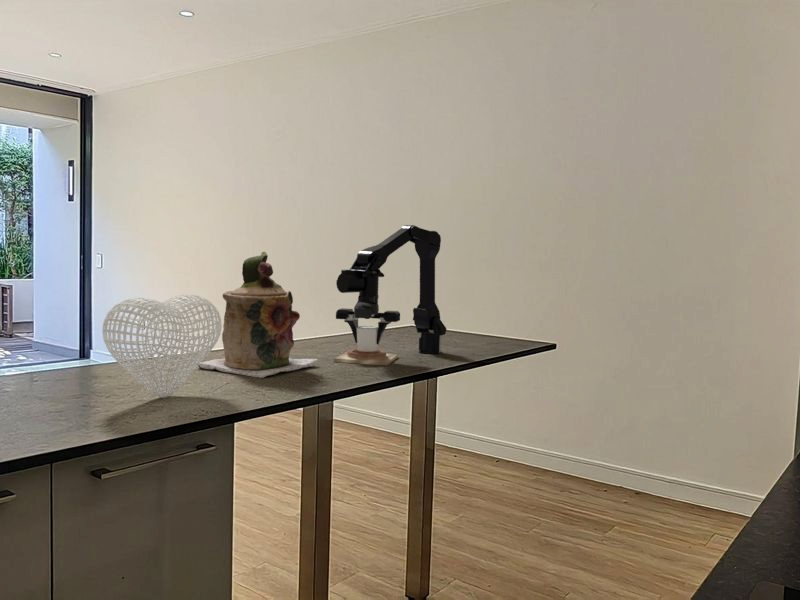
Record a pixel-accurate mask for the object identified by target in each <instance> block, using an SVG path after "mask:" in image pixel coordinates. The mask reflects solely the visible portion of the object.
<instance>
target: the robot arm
mask: <svg viewBox="0 0 800 600" xmlns="http://www.w3.org/2000/svg"><path fill="white" fill-rule="evenodd" d="M408 242H410V243H413V244H414V250H415V252H416V254H417V256H418V257H419V258H418V259H419V303H418V305H417V307H413V309H412V313H413V318H412V321H414V325H415V328H416V332H417V333H418V334H420V336H419V338H418V352H419V354H433V355H435V354H436V355H439V354H440V353H441V352H442V350H441V343H442V342H441V341H442V336H444V335H445V336H446V332H447V327H446V326H445V324H444V323H443V322H442V320H441V314H440V310H439V308H438V306H437V303H436V258H437V256H438V254H439V252H440V250H441V242H442V237H441V234H439V233H438V231H436V230H428V229H424V228H421V227H420V226H419V227H418V226H416V225H415V224H414V225H413V224H409V225H408V224H406V225H405V224H404V225H402V226H401V227H400V229H398V230H397V231H395V232H394V233H393V234H391V235H390V236H388V237H387V238H385V239H384V240H382V241H381V242H380V243H378V244H376V245H373V246H372V245H371V246H369V247H366V248H364V249H362V250H360V251H359V252H358V253H357V255H356V258H355V260H354V262H353V264H351V267H350V268H349V269H341V272H340V274H339V275H338V277H337V279H336V288H337V290H338V292H340V293H342V294H346V293H349V294H352V293H353V294H354V293H358V299H357V302H356V303H355V306H354V307H353V308H344V307H342V308H339V309H337V310H336V312H335V319H337V320H343V321H344V323H347V324H348V325H349V328H350V329H351V332H352V336H353V339H354V341H355V344H357V329H356V327H359V319H365V320H369V319H377V320H378V319H379V321H378V322H377V327H378V335H377V345H379V344H380V341H381V340H382V337H383V334H384V333H385V330H386V328H387V326H388V325H389V324H392V323H397V322H399V321H400V320H401V312H399V310H386V311H384V312H379V309H380V308H379V280H380V279H379V278H384V277H385V273H383V272H382V271H381V270H380V269H381V267H383V266H384V265H385V264H386V262H387V260H388V257H389V256H390V255H392V254H393V253H394V252H396V251H397V250H399V249H400V248H402V247H403V246H404V245H406V244H407V243H408Z"/></svg>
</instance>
